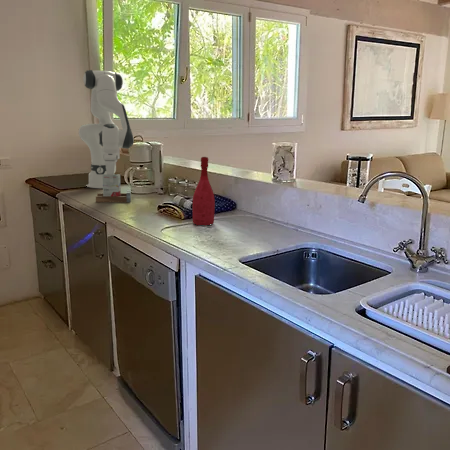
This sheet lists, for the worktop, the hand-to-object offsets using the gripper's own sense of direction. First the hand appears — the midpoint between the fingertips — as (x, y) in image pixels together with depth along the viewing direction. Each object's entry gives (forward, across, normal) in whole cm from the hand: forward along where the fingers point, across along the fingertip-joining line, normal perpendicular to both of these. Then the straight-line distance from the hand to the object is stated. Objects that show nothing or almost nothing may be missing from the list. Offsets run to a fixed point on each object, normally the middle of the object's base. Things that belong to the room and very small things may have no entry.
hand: (111, 181), depth 250 cm
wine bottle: (+11, +55, +43) cm, 70 cm away
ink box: (+8, 0, 0) cm, 8 cm away
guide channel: (+11, 0, +1) cm, 11 cm away
